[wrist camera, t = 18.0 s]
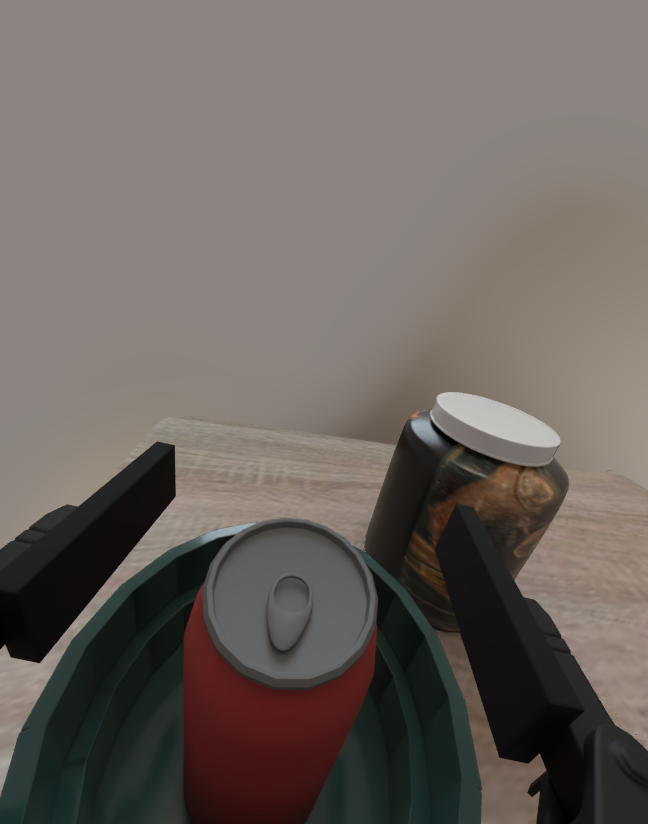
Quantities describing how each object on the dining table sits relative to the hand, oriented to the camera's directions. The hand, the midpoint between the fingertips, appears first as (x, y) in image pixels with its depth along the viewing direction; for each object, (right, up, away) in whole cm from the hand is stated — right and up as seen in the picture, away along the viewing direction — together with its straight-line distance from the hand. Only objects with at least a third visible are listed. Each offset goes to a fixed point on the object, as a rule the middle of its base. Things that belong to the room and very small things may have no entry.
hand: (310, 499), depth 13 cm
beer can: (-3, -13, +2) cm, 13 cm away
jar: (+10, -10, +14) cm, 20 cm away
